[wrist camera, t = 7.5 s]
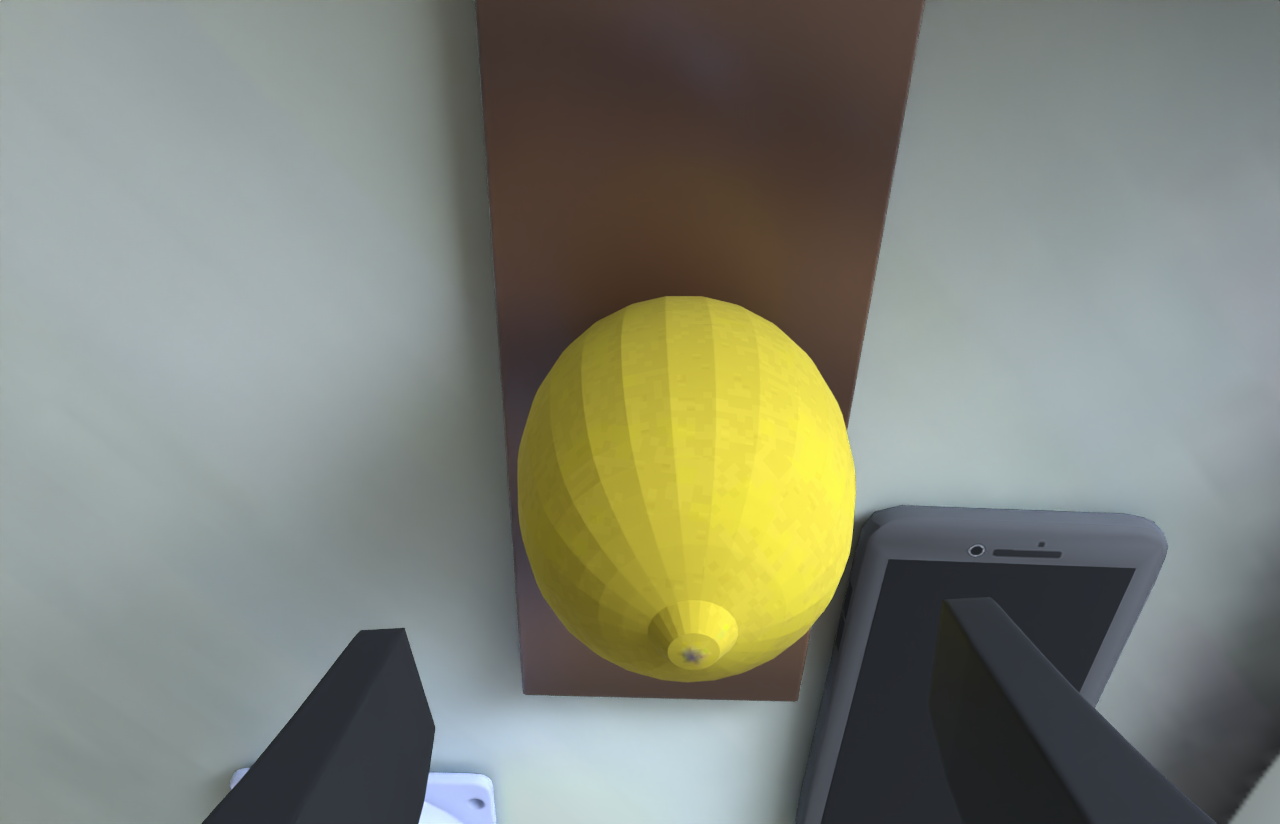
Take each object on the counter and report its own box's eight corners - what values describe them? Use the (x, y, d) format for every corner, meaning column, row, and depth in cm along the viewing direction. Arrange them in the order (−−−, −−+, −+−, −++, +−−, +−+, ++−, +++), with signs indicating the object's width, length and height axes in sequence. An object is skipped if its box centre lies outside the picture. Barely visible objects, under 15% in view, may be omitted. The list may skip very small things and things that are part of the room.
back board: (793, 674, 24) (798, 703, 24) (526, 667, 24) (522, 696, 24) (943, -188, 14) (961, -191, 13) (471, -203, 14) (459, -207, 13)
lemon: (491, 310, 17) (391, 592, 11) (742, 180, 16) (809, 410, 9) (626, 502, 20) (614, 828, 13) (852, 404, 19) (968, 714, 12)
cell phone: (789, 836, 28) (792, 859, 28) (865, 499, 21) (871, 518, 20) (1013, 843, 28) (1021, 866, 28) (1166, 510, 21) (1183, 530, 20)
